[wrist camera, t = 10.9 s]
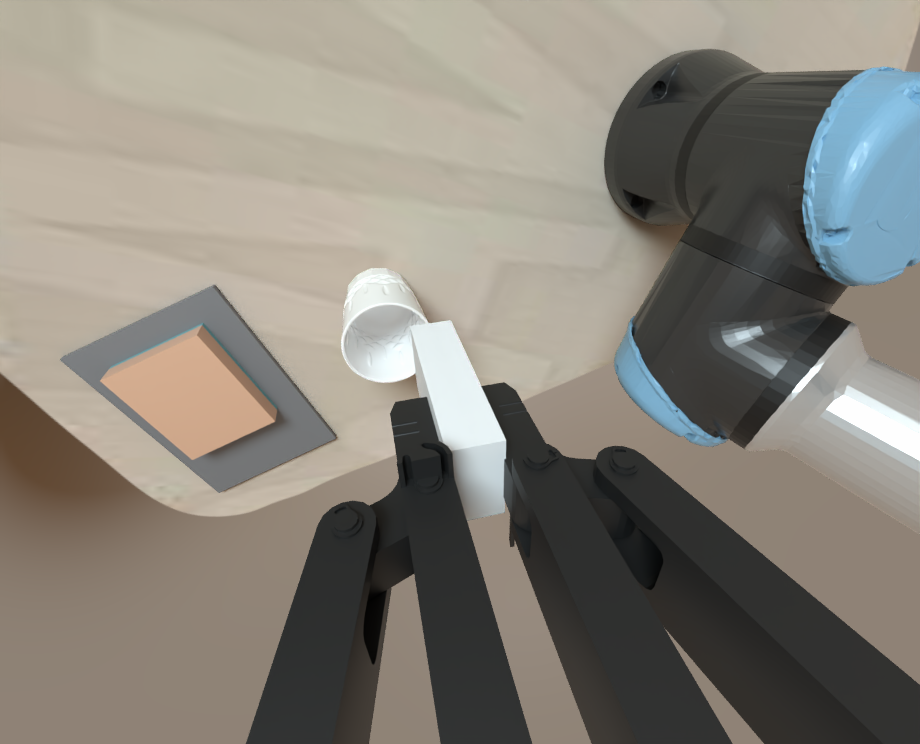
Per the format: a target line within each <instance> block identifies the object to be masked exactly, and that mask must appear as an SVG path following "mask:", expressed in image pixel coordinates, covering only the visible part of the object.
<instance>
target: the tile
mask: <svg viewBox="0 0 920 744" xmlns="http://www.w3.org/2000/svg"><path fill="white" fill-rule="evenodd" d="M100 382H102V383H103V384H104V385H105V386H106V387H107V388H109V389H110V390H111V391H112V392H113V393H114V394H116V395H117V396H118V397H119V398H120V399H121V400H123V401H124V402H125V403H126V404H127V405H128V406H130V407H131V408H132V409H133V410H134V411H135V412H137V413H138V414H139V415H140V416H141V417H142V418H144V419H145V420H146V421H147V422H148V423H149V424H151V425H152V426H153V427H154V428H155V429H156V430H158V431H159V432H160V433H161V434H162V435H164V436H165V437H166V438H167V439H168V440H169V441H171V442H172V443H173V444H174V445H175V446H176V447H178V448H179V449H180V450H181V451H182V452H183V453H185V454H186V455H187V456H188V457H189V458H190V459H192V460H194V459H196V458H198V457H200V456H202V455H205V454H207V453H209V452H211V451H213V450H215V449H217V448H220V447H222V446H224V445H226V444H228V443H230V442H232V441H235V440H237V439H239V438H241V437H243V436H245V435H247V434H250V433H252V432H254V431H256V430H258V429H260V428H262V427H265V426H267V425H269V424H271V423H273V422H275V420H276V414H277V408H278V407H277V406H276V405H275V404H274V403H273V402H272V400H271V399H270V398H269V397H268V396H267V395H266V394H265V392H264V391H263V390H262V389H261V388H260V387H259V386H258V385H257V383H256V382H255V381H254V380H253V379H252V378H251V377H250V375H249V374H248V373H247V372H246V371H245V370H244V369H243V367H242V366H241V365H240V364H239V363H238V362H237V361H236V359H235V358H234V357H233V356H232V355H231V354H230V353H229V351H228V350H227V349H226V348H225V347H224V346H223V345H222V343H221V342H220V341H219V340H218V339H217V338H216V337H215V336H214V334H213V333H212V332H211V331H210V330H209V329H208V328H207V326H206V325H205V324H204V323H202V324H200V325H198V326H195V327H193V328H191V329H189V330H187V331H185V332H183V333H181V334H179V335H176V336H174V337H172V338H170V339H168V340H166V341H164V342H162V343H160V344H157V345H155V346H153V347H151V348H149V349H147V350H145V351H143V352H141V353H138V354H136V355H134V356H132V357H130V358H128V359H126V360H124V361H122V362H119V363H117V364H115V365H113V366H111V367H110V368H109V370H108V371H107V372H106V373H105V375H104V376H103V377H102V379H101V380H100Z"/></svg>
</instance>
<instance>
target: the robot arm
mask: <svg viewBox="0 0 920 744" xmlns="http://www.w3.org/2000/svg"><path fill="white" fill-rule="evenodd" d="M605 175H606V180H607V184H608V188H609V190H610V193H611V195H612V197H613V199H614V200H615V202H616V203H617V204H618V206H619V207H620V208H621V209H622V210H623V211H625V212H626V213H627V214H629V215H631V216H633V217H635V218H637V219H639V220H641V221H644V222H646V223H649V224H654V225H664V226H666V225H681V224H689V226H688V228H687V229H686V231H685V233H684V235H683V236H682V238H681V239H680V241H679V242H678V244H677V246H676V247H675V249H674V251H673V253H672V254H671V256H670V258H669V260H668V261H667V263H666V265H665V266H664V268H663V270H662V272H661V273H660V275H659V277H658V278H657V280H656V282H655V284H654V285H653V287H652V289H651V290H650V292H649V294H648V296H647V297H646V299H645V301H644V302H643V304H642V306H641V307H640V309H639V311H638V312H637V314H636V316H633V318H632V319H631V320H630V322H629V324H628V330H627V332H626V334H625V336H624V338H623V340H622V342H621V344H620V346H619V348H618V350H617V352H616V354H615V359H614V366H615V371H616V374H617V376H618V379H619V382H620V384H621V385H622V387H623V388H624V390H625V391H626V393H627V394H628V395H629V397H630V398H631V399H632V400H633V401H634V402H635V403H636V404H637V405H638V406H639V407H640V408H641V409H642V410H643V411H644V412H645V413H646V414H647V415H648V416H650V417H651V418H652V419H653V420H654V421H656V422H657V423H658V424H660V425H661V426H662V427H664V428H665V429H667V430H668V431H670V432H672V433H673V434H675V435H677V436H679V437H681V436H684V437H685V438H687V440H689V441H690V442H691V443H694V444H697V445H700V446H706V447H709V446H710V447H714V446H717V445H719V444H722V443H725V442H726V441H727V440H728V439H730V440H732V441H733V442H734V443H736V444H738V445H739V446H741V447H742V448H744V449H745V450H747V451H762V450H776V449H777V450H782V451H786V452H787V453H789V454H791V455H792V456H794V457H795V458H797V459H799V460H800V461H802V462H804V463H805V464H807V465H808V466H810V467H812V468H813V469H815V470H816V471H818V472H820V473H821V474H823V475H824V476H826V477H828V478H829V479H831V480H832V481H834V482H836V483H838V484H839V485H841V486H842V487H844V488H845V489H847V490H849V491H850V492H852V493H853V494H855V495H856V496H858V497H860V498H861V499H863V500H865V501H866V502H868V503H869V504H871V505H873V506H874V507H876V508H877V509H879V510H881V511H882V512H884V513H886V514H887V515H889V516H890V517H892V518H893V519H895V520H897V521H898V522H900V523H901V524H903V525H905V526H906V527H908V528H909V529H911V530H913V531H914V532H916V533H918V534H919V535H920V380H919V379H916V378H914V377H912V376H910V375H908V374H906V373H903V372H901V371H899V370H897V369H895V368H893V367H891V366H889V365H887V364H884V363H882V362H880V361H878V360H876V359H874V358H872V357H871V356H870V355H868V354H867V353H866V352H865V350H864V347H863V343H862V340H861V336H860V334H859V330H858V327H857V325H856V324H854V323H853V322H850V321H847V320H845V319H843V318H841V317H839V316H836V315H834V314H831V313H830V311H829V310H830V308H831V307H832V306H833V304H834V303H835V302H836V301H837V299H838V298H839V297H840V296H841V294H842V293H843V292H844V291H845V289H846V288H847V287H848V286H858V285H876V284H880V283H883V282H885V281H888V280H891V279H893V278H895V277H897V276H899V275H900V274H902V273H903V271H904V269H905V267H906V266H913V265H915V264H917V263H918V262H919V261H920V72H903V71H902V70H900V69H896V68H889V67H880V68H870V69H867V70H847V71H808V72H775V73H764V72H763V71H761V70H759V69H758V68H756V67H754V66H753V65H751V64H749V63H748V62H746V61H744V60H742V59H741V58H739V57H737V56H736V55H734V54H732V53H729V52H726V51H722V50H716V49H702V50H690V51H684V52H680V53H677V54H674V55H672V56H670V57H668V58H666V59H664V60H662V61H661V62H659V63H657V64H656V65H655V66H653V67H652V68H651V69H650V70H648V71H647V72H646V73H645V74H644V75H643V76H642V77H641V78H640V79H639V80H638V81H637V82H636V83H635V85H634V86H633V87H632V88H631V90H630V91H629V92H628V94H627V95H626V97H625V98H624V100H623V102H622V103H621V105H620V107H619V109H618V111H617V113H616V115H615V117H614V120H613V122H612V125H611V128H610V131H609V135H608V139H607V143H606V150H605ZM410 331H411V339H412V347H413V355H414V364H415V372H416V380H417V388H418V392H419V396H420V398H416V399H411V400H405V401H399V402H395V404H394V406H393V408H392V411H391V413H390V416H391V422H392V429H393V435H394V442H395V449H396V455H397V467H398V473H399V479H398V482H397V485H396V487H395V488H394V489H393V491H392V492H391V493H390V494H388V495H387V496H386V497H384V498H383V499H381V500H380V501H378V502H376V503H374V504H372V505H370V506H369V505H367V504H365V503H364V502H358V501H349V502H343V503H340V504H338V505H336V506H334V507H332V508H331V509H330V510H329V511H328V512H327V513H326V514H324V515H323V517H322V519H321V520H320V522H319V524H318V527H317V529H316V532H315V536H314V539H313V541H312V544H311V547H310V550H309V554H308V557H307V560H306V563H305V566H304V569H303V572H302V575H301V578H300V581H299V584H298V587H297V590H296V593H295V596H294V599H293V602H292V605H291V608H290V611H289V614H288V618H287V620H286V624H285V627H284V630H283V633H282V636H281V639H280V642H279V645H278V648H277V651H276V654H275V657H274V660H273V663H272V666H271V669H270V672H269V676H268V678H267V682H266V684H265V688H264V691H263V694H262V697H261V700H260V703H259V706H258V709H257V712H256V715H255V718H254V721H253V724H252V727H251V730H250V733H249V736H248V739H247V742H246V744H369V739H370V732H371V725H372V718H373V711H374V704H375V698H376V691H377V684H378V677H379V670H380V663H381V656H382V650H383V643H384V635H385V629H386V622H387V615H388V607H389V601H390V595H391V587H392V586H394V585H396V584H397V583H399V582H401V581H402V580H404V579H406V578H407V577H409V576H411V575H412V574H415V581H416V587H417V594H418V600H419V607H420V613H421V620H422V626H423V633H424V639H425V645H426V652H427V658H428V664H429V671H430V678H431V684H432V691H433V697H434V704H435V710H436V717H437V723H438V729H439V736H440V742H441V744H532V741H531V738H530V735H529V731H528V728H527V724H526V721H525V718H524V714H523V711H522V708H521V704H520V700H519V697H518V694H517V690H516V687H515V684H514V680H513V677H512V673H511V670H510V666H509V663H508V659H507V656H506V653H505V649H504V646H503V642H502V639H501V636H500V632H499V629H498V625H497V622H496V618H495V615H494V612H493V608H492V605H491V601H490V598H489V595H488V591H487V588H486V584H485V581H484V578H483V574H482V571H481V567H480V564H479V560H478V557H477V554H476V550H475V547H474V543H473V540H472V536H471V533H470V530H469V527H468V523H467V521H469V520H473V519H478V518H483V517H487V516H492V515H496V514H501V513H504V512H505V502H506V504H507V507H508V510H509V512H510V534H509V535H510V536H509V540H510V547H513V546H514V540H515V541H516V544H517V547H518V550H519V552H520V555H521V558H522V560H523V563H524V566H525V568H526V571H527V573H528V576H529V579H530V581H531V584H532V587H533V589H534V591H535V595H536V597H537V600H538V603H539V605H540V608H541V611H542V613H543V616H544V618H545V621H546V624H547V626H548V629H549V632H550V634H551V637H552V640H553V642H554V645H555V647H556V650H557V653H558V656H559V658H560V661H561V663H562V666H563V669H564V671H565V674H566V677H567V679H568V682H569V685H570V687H571V690H572V693H573V695H574V698H575V701H576V703H577V706H578V709H579V711H580V714H581V716H582V719H583V722H584V724H585V727H586V730H587V732H588V735H589V738H590V740H591V743H592V744H732V742H731V740H730V739H729V737H728V735H727V734H726V732H725V730H724V728H723V727H722V725H721V724H720V722H719V720H718V718H717V717H716V715H715V713H714V712H713V710H712V708H711V707H710V705H709V703H708V701H707V700H706V698H705V696H704V695H703V693H702V691H701V689H700V688H699V686H698V684H697V683H696V681H695V679H694V678H693V676H692V674H691V673H690V671H689V669H688V667H687V666H686V664H685V662H684V661H683V659H682V657H681V656H680V654H679V652H678V651H677V649H676V647H675V645H674V644H673V642H672V640H671V639H670V637H669V635H668V634H667V632H666V630H667V631H668V632H669V633H670V634H671V636H672V637H673V638H674V639H675V640H676V641H677V643H678V644H679V645H680V646H681V647H682V648H683V649H684V651H685V652H686V653H687V654H688V655H689V657H690V658H691V659H692V660H693V661H694V662H695V664H696V665H697V666H698V667H699V668H700V669H701V671H702V672H703V673H704V674H705V675H706V676H707V678H708V679H709V680H710V681H711V682H712V683H713V684H714V686H715V687H716V688H717V689H718V690H719V691H720V693H721V694H722V695H723V696H724V697H725V698H726V700H727V701H728V702H729V703H730V704H731V705H732V707H734V709H735V710H736V711H737V712H738V714H739V715H740V716H741V717H742V718H743V719H744V721H745V722H746V723H747V724H748V725H749V726H750V727H751V729H752V730H753V731H754V732H755V733H756V735H757V736H758V737H759V738H760V739H761V740H762V742H763V743H764V744H920V685H919V684H918V683H917V682H916V681H914V680H913V679H912V678H911V677H910V676H908V675H907V674H906V673H905V672H904V671H902V670H901V669H900V668H899V667H898V666H896V665H895V664H894V663H893V662H892V661H890V660H889V659H888V658H887V657H885V656H884V655H883V654H882V653H881V652H879V651H878V650H877V649H876V648H875V647H874V646H872V645H871V644H870V643H869V642H867V641H866V640H865V639H864V638H862V637H861V636H860V635H859V634H858V633H857V632H855V631H854V630H853V629H852V628H850V627H849V626H848V625H847V624H846V623H845V622H843V621H842V620H841V619H840V618H838V617H837V616H836V615H835V614H834V613H833V612H831V611H830V610H829V609H828V608H827V607H825V606H824V605H823V604H822V603H821V602H819V601H818V600H817V599H816V598H814V597H813V596H812V595H811V594H810V593H808V592H807V591H806V590H805V589H804V588H802V587H801V586H800V585H799V584H798V583H796V582H795V581H794V580H793V579H792V578H790V577H789V576H788V575H787V574H786V573H784V572H783V571H782V570H781V569H779V568H778V567H777V566H776V565H775V564H773V563H772V562H771V561H770V560H768V559H767V558H766V557H765V556H764V555H763V554H762V553H760V552H759V551H758V550H757V549H755V548H754V547H753V546H752V545H751V544H749V543H748V542H747V541H746V540H745V539H743V538H742V537H741V536H740V535H739V534H737V533H736V532H735V531H734V530H733V529H731V528H730V527H729V526H728V525H727V524H725V523H724V522H723V521H722V520H720V519H719V518H718V517H717V516H716V515H715V514H713V513H712V512H711V511H710V510H708V509H707V508H706V507H705V506H704V505H702V504H701V503H700V502H699V501H698V500H696V499H695V498H694V497H693V496H692V495H690V494H689V493H688V492H687V491H685V490H684V489H683V488H682V487H681V486H680V485H678V484H677V483H676V482H675V481H674V480H672V479H671V478H670V477H669V476H668V475H666V474H665V473H664V472H663V471H661V470H660V469H659V468H658V467H657V466H656V465H654V464H653V463H652V462H651V461H649V460H648V459H647V458H646V457H645V456H643V455H642V454H640V453H639V452H637V451H635V450H633V449H630V448H627V447H623V446H612V447H607V448H604V449H603V450H602V451H600V452H599V453H598V455H597V458H596V460H591V459H575V458H569V457H566V456H563V455H562V454H561V453H560V452H559V451H558V450H557V449H556V448H554V447H552V446H551V445H549V444H546V443H545V442H544V440H543V438H542V436H541V434H540V433H539V431H538V429H537V427H536V426H535V424H534V422H533V420H532V419H531V417H530V415H529V413H528V412H527V410H526V408H525V406H524V404H523V403H522V401H521V399H520V397H519V396H518V394H517V392H516V390H514V389H513V388H511V387H510V386H509V385H507V384H506V383H498V384H492V385H486V386H481V385H480V383H479V380H478V378H477V376H476V374H475V372H474V370H473V367H472V365H471V363H470V361H469V359H468V357H467V354H466V352H465V350H464V348H463V346H462V344H461V341H460V339H459V337H458V335H457V333H456V331H455V329H454V326H453V324H452V322H451V320H449V321H442V322H435V323H428V324H421V325H414V326H410ZM663 626H664V627H663ZM665 629H666V630H665Z"/></svg>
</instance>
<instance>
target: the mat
mask: <svg viewBox="0 0 920 744" xmlns="http://www.w3.org/2000/svg"><path fill="white" fill-rule="evenodd" d="M202 323H204V324H205V325H206V326H207V328H208V329H209V330H210V331H211V332H212V333H213V334H214V336H215V337H216V338H217V339H218V340H219V341H220V342H221V343H222V345H223V346H224V347H225V348H226V349H227V350H228V351H229V353H230V354H231V355H232V356H233V357H234V358H235V359H236V361H237V362H238V363H239V364H240V365H241V366H242V367H243V369H244V370H245V371H246V372H247V373H248V374H249V375H250V377H251V378H252V379H253V380H254V381H255V382H256V383H257V385H258V386H259V387H260V388H261V389H262V390H263V391H264V392H265V394H266V395H267V396H268V397H269V398H270V399H271V400H272V402H273V403H274V404H275V405H276V406H277V407H278V408H277V414H276V420H275V422H273V423H271V424H269V425H267V426H265V427H262V428H260V429H258V430H256V431H254V432H252V433H250V434H247V435H245V436H243V437H241V438H239V439H237V440H235V441H232V442H230V443H228V444H226V445H224V446H222V447H220V448H217V449H215V450H213V451H211V452H209V453H207V454H205V455H202V456H200V457H198V458H196V459H194V460H192V459H190V458H189V457H188V456H187V455H186V454H185V453H183V452H182V451H181V450H180V449H179V448H178V447H176V446H175V445H174V444H173V443H172V442H171V441H169V440H168V439H167V438H166V437H165V436H164V435H162V434H161V433H160V432H159V431H158V430H156V429H155V428H154V427H153V426H152V425H151V424H149V423H148V422H147V421H146V420H145V419H144V418H142V417H141V416H140V415H139V414H138V413H137V412H135V411H134V410H133V409H132V408H131V407H130V406H128V405H127V404H126V403H125V402H124V401H123V400H121V399H120V398H119V397H118V396H117V395H116V394H114V393H113V392H112V391H111V390H110V389H109V388H107V387H106V386H105V385H104V384H103V383H102V382H100V380H101V379H102V377H103V376H104V375H105V373H106V372H107V371H108V370H109V368H110V367H111V366H113V365H115V364H117V363H119V362H122V361H124V360H126V359H128V358H130V357H132V356H134V355H136V354H138V353H141V352H143V351H145V350H147V349H149V348H151V347H153V346H155V345H157V344H160V343H162V342H164V341H166V340H168V339H170V338H172V337H174V336H176V335H179V334H181V333H183V332H185V331H187V330H189V329H191V328H193V327H195V326H198V325H200V324H202ZM60 360H61V361H62V362H63V363H64V364H65V365H67V366H68V367H69V368H70V369H71V370H73V371H74V372H75V373H76V374H77V375H79V376H80V377H81V378H82V379H83V380H85V381H86V382H87V383H88V384H89V385H91V386H92V387H93V388H94V389H95V390H97V391H98V392H99V393H100V394H101V395H103V396H104V397H105V398H106V399H107V400H108V401H110V402H111V403H112V404H113V405H114V406H116V407H117V408H118V409H119V410H120V411H122V412H123V413H124V414H125V415H126V416H128V417H129V418H130V419H131V420H132V421H134V422H135V423H136V424H137V425H138V426H140V427H141V428H142V429H143V430H144V431H146V432H147V433H148V434H149V435H150V436H152V437H153V438H154V439H155V440H156V441H158V442H159V443H160V444H161V445H162V446H164V447H165V448H166V449H167V450H168V451H169V452H171V453H172V454H173V455H174V456H175V457H177V458H178V459H179V460H180V461H181V462H183V463H184V464H185V465H186V466H187V467H189V468H190V469H191V470H192V471H193V472H195V473H196V474H197V475H198V476H199V477H201V478H202V479H203V480H204V481H205V482H207V483H208V484H209V485H210V486H211V487H213V488H214V489H215V490H216V491H217V492H219V493H220V492H222V491H224V490H226V489H228V488H230V487H233V486H235V485H237V484H239V483H241V482H243V481H245V480H248V479H250V478H252V477H254V476H256V475H258V474H261V473H263V472H265V471H267V470H269V469H271V468H273V467H276V466H278V465H280V464H282V463H284V462H286V461H289V460H291V459H293V458H295V457H297V456H299V455H301V454H304V453H306V452H308V451H310V450H312V449H314V448H317V447H319V446H321V445H323V444H325V443H327V442H329V441H332V440H334V439H336V435H335V433H334V432H333V431H332V430H331V428H330V427H329V426H328V425H327V423H326V422H325V421H324V420H323V419H322V417H321V416H320V415H319V414H318V412H317V411H316V410H315V409H314V407H313V406H312V405H311V404H310V402H309V401H308V400H307V399H306V397H305V396H304V395H303V394H302V392H301V391H300V390H299V389H298V388H297V386H296V385H295V384H294V383H293V381H292V380H291V379H290V378H289V376H288V375H287V374H286V373H285V371H284V370H283V369H282V368H281V366H280V365H279V364H278V363H277V361H276V360H275V359H274V358H273V357H272V355H271V354H270V353H269V352H268V350H267V349H266V348H265V347H264V345H263V344H262V343H261V342H260V340H259V339H258V338H257V337H256V335H255V334H254V333H253V332H252V330H251V329H250V328H249V327H248V326H247V324H246V323H245V322H244V321H243V319H242V318H241V317H240V316H239V314H238V313H237V312H236V311H235V309H234V308H233V307H232V306H231V304H230V303H229V302H228V301H227V299H226V298H225V297H224V296H223V295H222V293H221V292H220V291H219V290H218V288H217V287H216V286H215V285H213V286H211V287H209V288H206V289H204V290H202V291H200V292H198V293H196V294H194V295H192V296H190V297H188V298H185V299H183V300H181V301H179V302H177V303H175V304H173V305H171V306H169V307H166V308H164V309H162V310H160V311H158V312H156V313H154V314H152V315H150V316H148V317H145V318H143V319H141V320H139V321H137V322H135V323H133V324H131V325H129V326H126V327H124V328H122V329H120V330H118V331H116V332H114V333H112V334H110V335H108V336H105V337H103V338H101V339H99V340H97V341H95V342H93V343H91V344H89V345H86V346H84V347H82V348H80V349H78V350H76V351H74V352H72V353H70V354H68V355H65V356H63V357H62V358H61V359H60Z"/></svg>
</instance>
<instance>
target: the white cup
mask: <svg viewBox="0 0 920 744" xmlns="http://www.w3.org/2000/svg"><path fill="white" fill-rule="evenodd" d="M428 323H429V322H428V320H427V318H426V316H425V314H424V312H423V310H422V308H421V306H420V304H419V302H418V300H417V299H416V297H415V295H414V293H413V292H412V290H411V289H410V287H409V285H408V284H407V282H406V281H405V280H404V279H403V278H402V276H401V275H400V274H398V273H396V272H394V271H391V270H389V269H387V268H370V269H368V270H366V271H364V272H362V273H359V274H357V276H356V277H355V278H354V279H353V281H352V282H351V283H350V284H349V285H348V289H347V295H346V300H345V304H344V312H343V325H342V340H341V348H342V354H343V357H344V359H345V361H346V363H347V364H348V366H349V367H350V368H351V369H352V370H353V371H354V372H355V373H356V374H358V375H359V376H361V377H363V378H365V379H367V380H370V381H374V382H379V383H392V382H398V381H401V380H404V379H407V378H409V377H411V376H413V375H414V374H416V372H415V364H414V355H413V347H412V339H411V331H410V326H414V325H421V324H428Z"/></svg>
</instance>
